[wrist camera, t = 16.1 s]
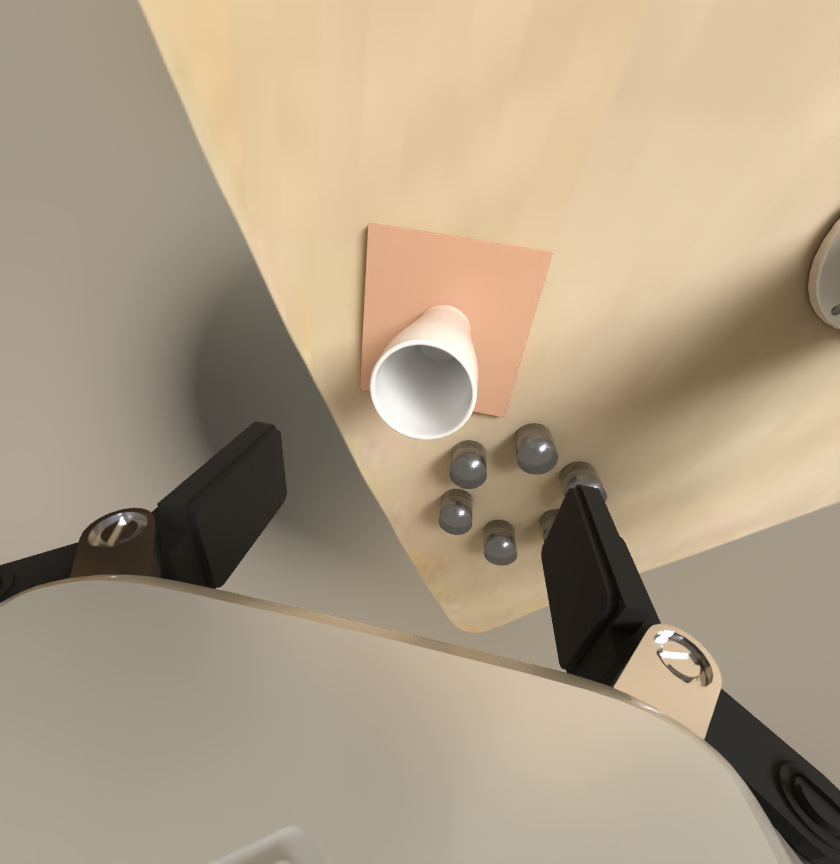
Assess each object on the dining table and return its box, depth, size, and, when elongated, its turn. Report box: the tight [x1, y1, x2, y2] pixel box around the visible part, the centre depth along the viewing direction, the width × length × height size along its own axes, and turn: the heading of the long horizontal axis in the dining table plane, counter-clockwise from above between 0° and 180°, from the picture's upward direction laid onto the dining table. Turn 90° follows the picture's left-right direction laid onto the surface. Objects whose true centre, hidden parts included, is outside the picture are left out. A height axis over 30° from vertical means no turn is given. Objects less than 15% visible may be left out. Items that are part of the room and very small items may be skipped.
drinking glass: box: [370, 305, 479, 440], centre depth 27 cm, size 7×7×15 cm
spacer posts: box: [439, 424, 607, 565], centre depth 42 cm, size 17×19×4 cm
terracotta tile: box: [360, 223, 553, 417], centre depth 34 cm, size 16×16×1 cm
